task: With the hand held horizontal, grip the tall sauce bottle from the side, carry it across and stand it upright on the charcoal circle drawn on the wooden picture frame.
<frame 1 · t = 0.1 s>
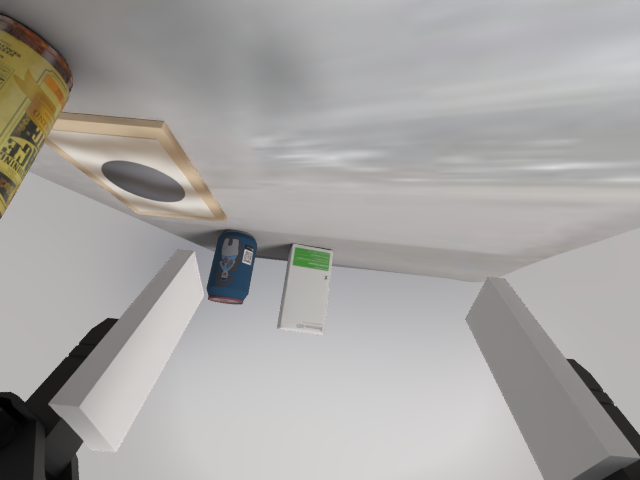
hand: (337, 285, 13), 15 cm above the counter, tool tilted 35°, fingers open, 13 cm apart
wooden picture frame: (148, 177, 35), on the counter
skincare box: (309, 250, 56), on the counter
sauce bottle: (25, 46, 20), on the counter
soda can: (239, 235, 51), on the counter
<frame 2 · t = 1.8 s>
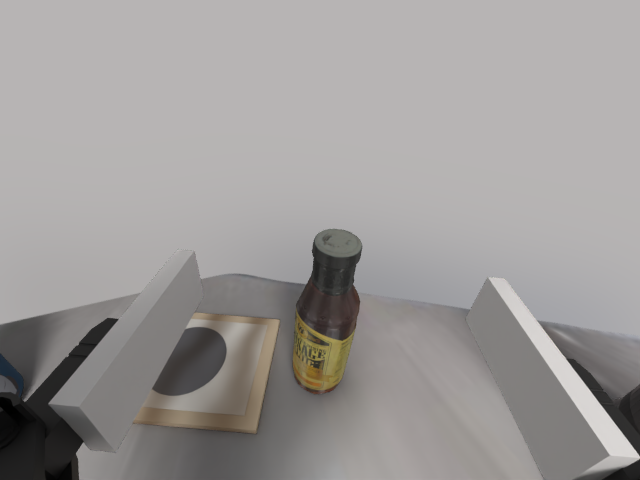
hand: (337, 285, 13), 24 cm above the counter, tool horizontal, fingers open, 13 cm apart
wooden picture frame: (189, 362, 34), on the counter
sauce bottle: (318, 374, 34), on the counter
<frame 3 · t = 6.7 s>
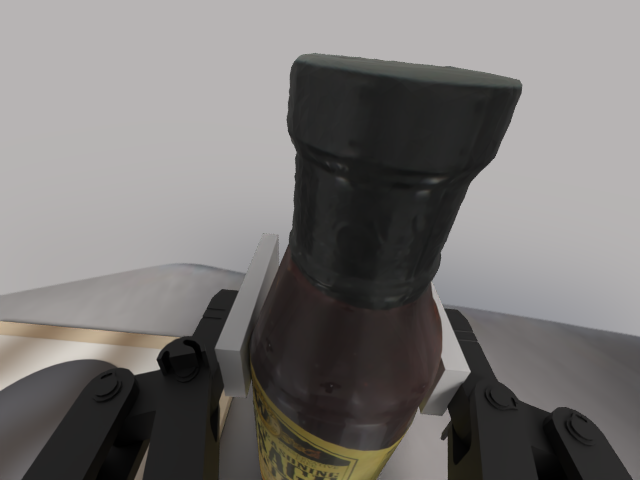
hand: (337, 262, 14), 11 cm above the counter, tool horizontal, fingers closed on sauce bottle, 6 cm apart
wooden picture frame: (45, 439, 16), on the counter
sauce bottle: (316, 465, 16), on the counter, touching gripper
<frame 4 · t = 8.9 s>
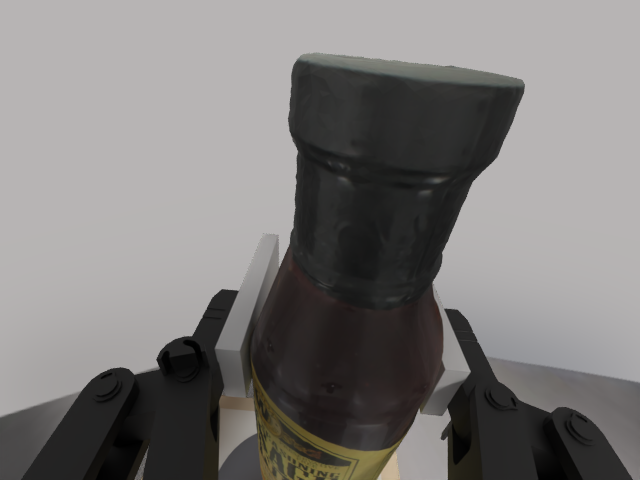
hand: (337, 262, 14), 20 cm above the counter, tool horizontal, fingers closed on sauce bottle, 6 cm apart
sauce bottle: (317, 465, 16), point 8 cm above the counter, touching gripper
when the fingers open (13 cm above the counter, at t = 11.4 s): sauce bottle stays where it is, resting on wooden picture frame.
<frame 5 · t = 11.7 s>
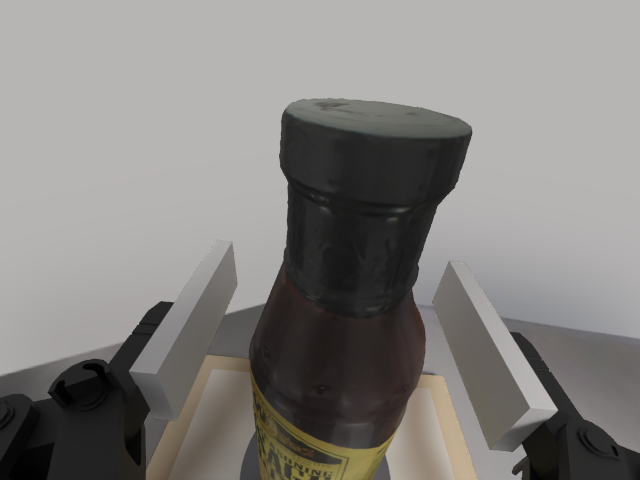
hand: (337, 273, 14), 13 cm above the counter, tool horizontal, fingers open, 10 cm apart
wooden picture frame: (315, 476, 17), on the counter
sauce bottle: (315, 472, 17), point 1 cm above the counter, touching wooden picture frame
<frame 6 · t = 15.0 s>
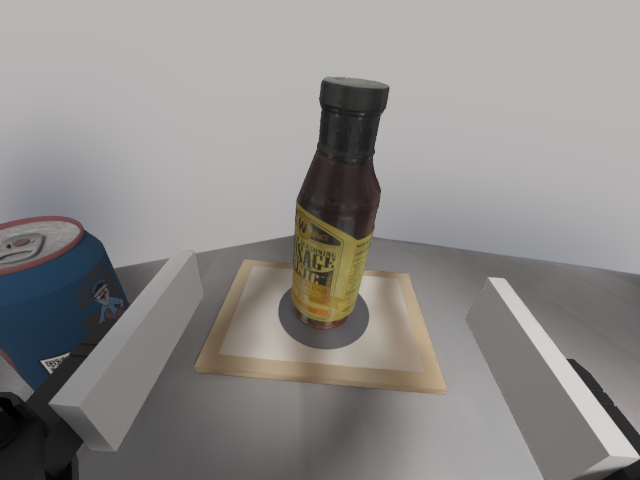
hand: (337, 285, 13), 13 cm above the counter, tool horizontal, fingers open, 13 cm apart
wooden picture frame: (323, 315, 28), on the counter
sauce bottle: (323, 310, 28), point 1 cm above the counter, touching wooden picture frame
soda can: (98, 365, 22), on the counter
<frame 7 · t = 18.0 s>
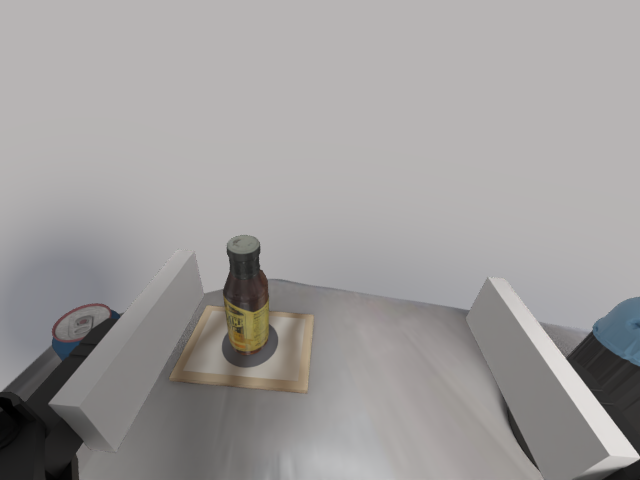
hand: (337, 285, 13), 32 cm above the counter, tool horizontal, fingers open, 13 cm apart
wooden picture frame: (250, 345, 46), on the counter
sauce bottle: (250, 342, 46), point 1 cm above the counter, touching wooden picture frame
soda can: (115, 376, 41), on the counter
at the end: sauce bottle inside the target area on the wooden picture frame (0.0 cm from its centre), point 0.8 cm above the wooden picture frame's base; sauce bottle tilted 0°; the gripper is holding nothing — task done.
